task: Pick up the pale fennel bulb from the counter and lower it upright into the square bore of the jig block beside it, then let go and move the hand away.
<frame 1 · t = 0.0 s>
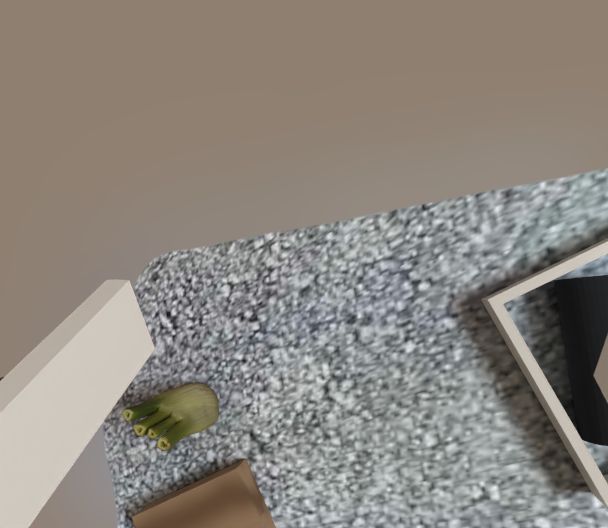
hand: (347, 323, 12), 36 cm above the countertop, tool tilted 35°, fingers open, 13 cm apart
fennel bulb: (204, 400, 51), on the countertop
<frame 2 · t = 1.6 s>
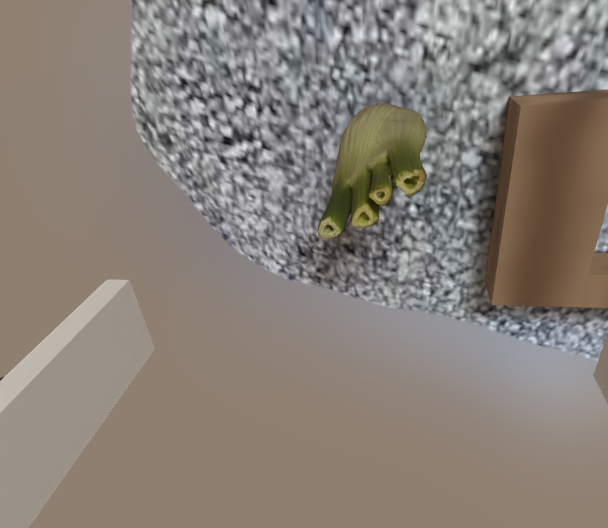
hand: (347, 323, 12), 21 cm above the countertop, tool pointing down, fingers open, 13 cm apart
fennel bulb: (381, 134, 30), on the countertop
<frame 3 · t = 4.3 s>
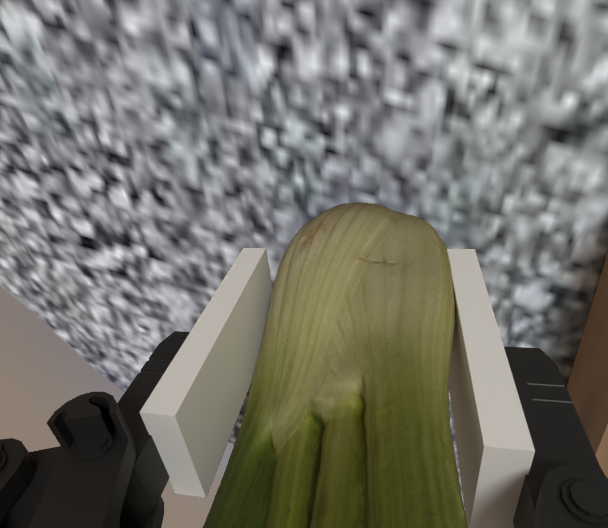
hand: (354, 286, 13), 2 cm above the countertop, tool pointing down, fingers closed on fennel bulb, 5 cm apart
fennel bulb: (360, 246, 16), on the countertop, touching gripper
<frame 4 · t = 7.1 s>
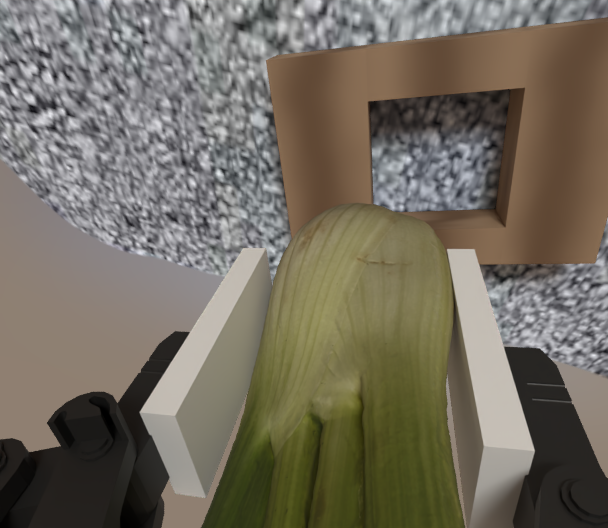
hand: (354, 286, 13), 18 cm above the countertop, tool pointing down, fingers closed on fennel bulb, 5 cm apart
fennel bulb: (359, 246, 16), point 16 cm above the countertop, touching gripper
jig block: (435, 153, 29), on the countertop
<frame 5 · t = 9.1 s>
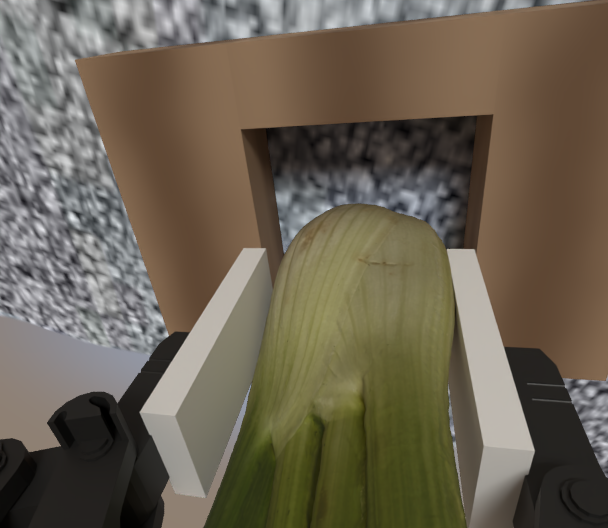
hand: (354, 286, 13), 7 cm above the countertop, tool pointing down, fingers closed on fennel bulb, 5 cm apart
fennel bulb: (360, 247, 16), point 4 cm above the countertop, touching gripper
jig block: (367, 203, 19), on the countertop
when the fingers open (3 cm above the countertop, at t = 10.0 s): fennel bulb stays where it is, resting in jig block.
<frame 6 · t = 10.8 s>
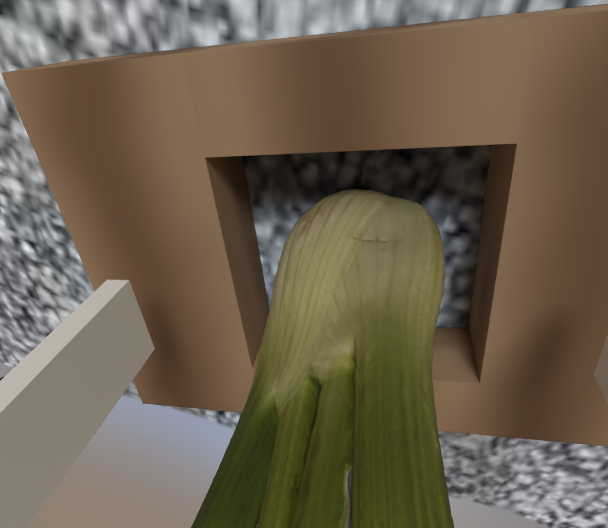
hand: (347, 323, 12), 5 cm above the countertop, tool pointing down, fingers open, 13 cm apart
fennel bulb: (360, 233, 16), resting in jig block
jig block: (361, 237, 16), on the countertop
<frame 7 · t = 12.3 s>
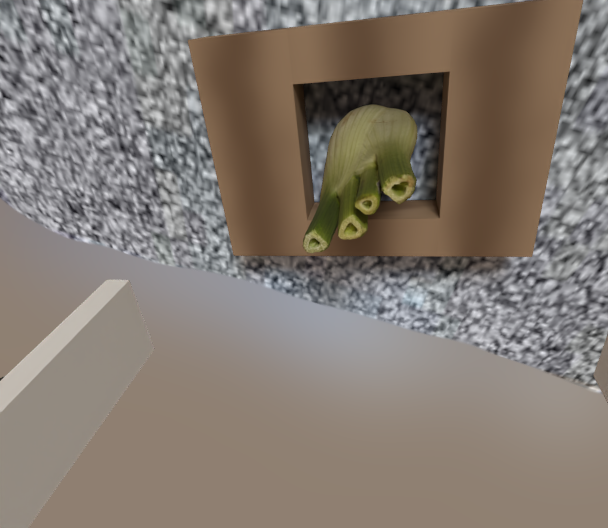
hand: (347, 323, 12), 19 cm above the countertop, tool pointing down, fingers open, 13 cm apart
fennel bulb: (371, 137, 28), resting in jig block
jig block: (372, 141, 28), on the countertop
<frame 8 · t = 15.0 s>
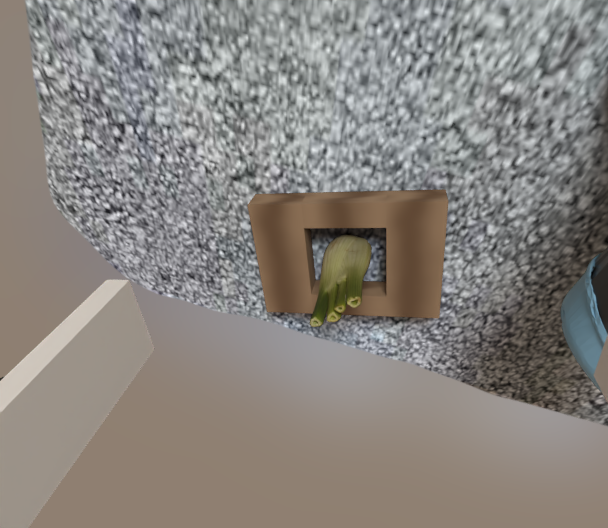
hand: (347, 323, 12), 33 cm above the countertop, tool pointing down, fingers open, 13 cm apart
fennel bulb: (348, 247, 48), resting in jig block
jig block: (349, 249, 48), on the countertop
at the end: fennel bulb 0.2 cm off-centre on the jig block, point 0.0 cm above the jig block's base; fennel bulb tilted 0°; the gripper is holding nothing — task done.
